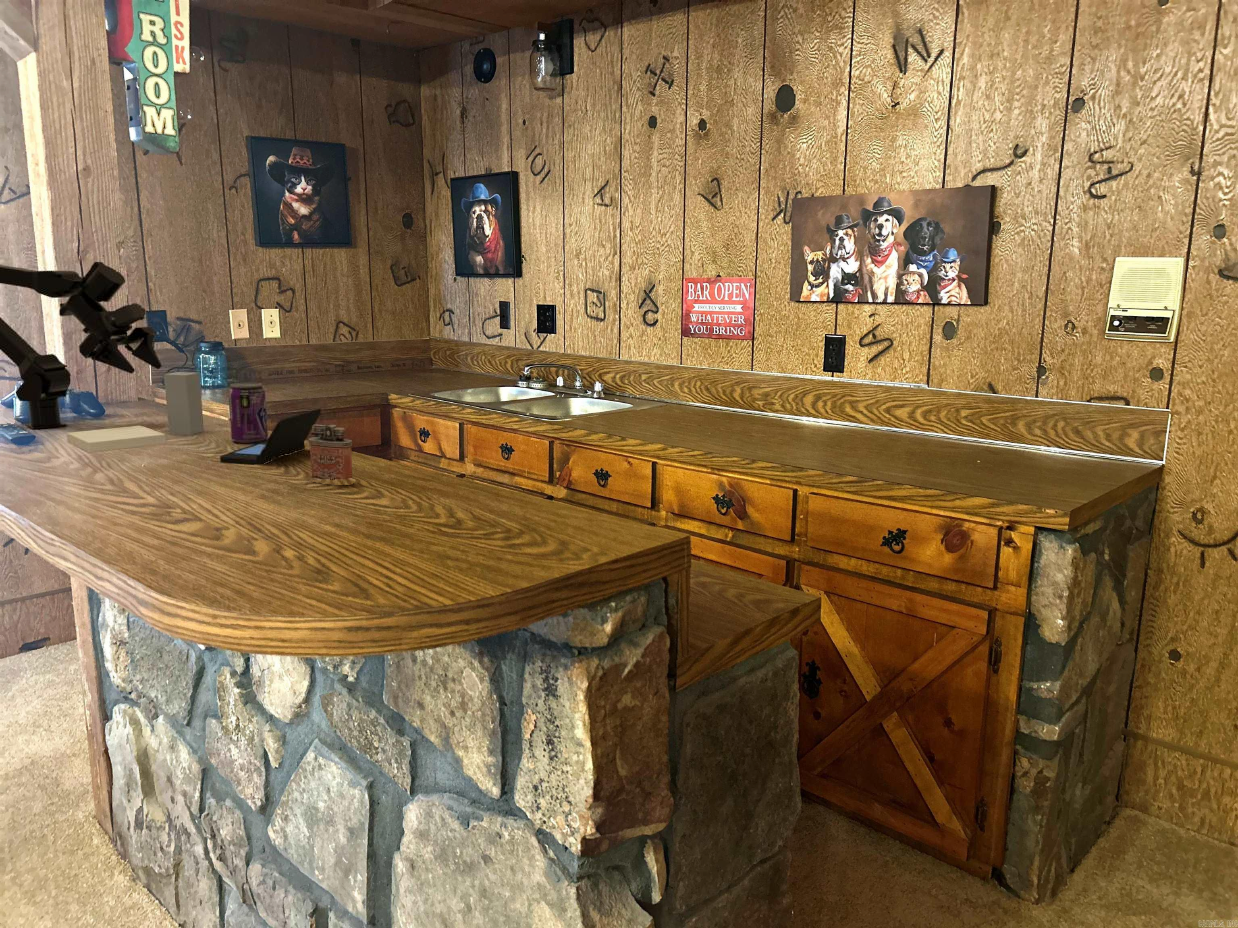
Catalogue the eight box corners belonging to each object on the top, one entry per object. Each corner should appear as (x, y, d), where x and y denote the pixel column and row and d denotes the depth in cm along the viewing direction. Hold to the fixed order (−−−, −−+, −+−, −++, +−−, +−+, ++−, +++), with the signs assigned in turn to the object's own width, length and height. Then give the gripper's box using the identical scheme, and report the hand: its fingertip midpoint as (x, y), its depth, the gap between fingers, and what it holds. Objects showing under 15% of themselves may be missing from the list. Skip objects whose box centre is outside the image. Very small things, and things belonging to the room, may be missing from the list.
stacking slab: (68, 444, 182) (66, 433, 182) (141, 436, 192) (140, 425, 192) (90, 455, 173) (89, 442, 172) (166, 446, 183) (165, 434, 182)
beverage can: (255, 445, 183) (251, 387, 181) (224, 443, 184) (220, 385, 182) (275, 439, 190) (271, 383, 187) (245, 437, 191) (241, 381, 189)
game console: (264, 448, 181) (261, 404, 180) (325, 452, 179) (323, 407, 177) (216, 463, 167) (212, 416, 165) (282, 468, 164) (279, 419, 162)
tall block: (169, 434, 193) (163, 374, 190) (182, 430, 198) (177, 372, 195) (190, 435, 192) (185, 375, 190) (204, 431, 197) (199, 372, 194)
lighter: (358, 482, 153) (355, 425, 151) (346, 486, 150) (343, 428, 148) (318, 478, 155) (315, 422, 153) (306, 482, 152) (303, 425, 150)
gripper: (86, 291, 181) (141, 347, 182) (144, 290, 199) (194, 341, 200) (54, 329, 183) (109, 384, 185) (115, 324, 202) (164, 375, 203)
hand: (147, 369), depth 193 cm, fingers open, 9 cm apart
